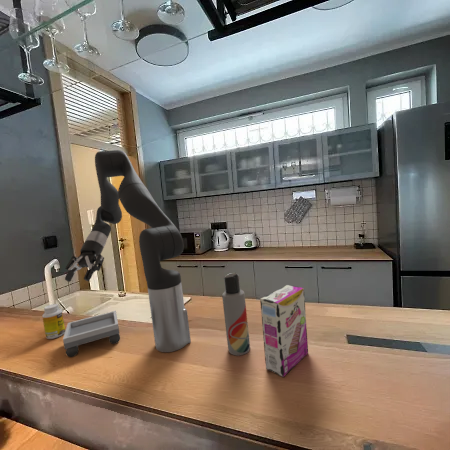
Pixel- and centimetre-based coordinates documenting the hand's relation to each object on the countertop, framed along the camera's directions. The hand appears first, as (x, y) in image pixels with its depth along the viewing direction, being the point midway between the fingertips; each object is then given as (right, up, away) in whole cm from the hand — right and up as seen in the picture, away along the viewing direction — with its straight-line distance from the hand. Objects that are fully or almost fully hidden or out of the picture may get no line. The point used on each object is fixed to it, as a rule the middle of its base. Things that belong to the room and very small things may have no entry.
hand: (76, 280), depth 97 cm
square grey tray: (+16, -15, -17) cm, 28 cm away
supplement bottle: (-1, -17, -10) cm, 19 cm away
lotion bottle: (+59, -12, -30) cm, 67 cm away
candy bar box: (+70, -11, -37) cm, 80 cm away
